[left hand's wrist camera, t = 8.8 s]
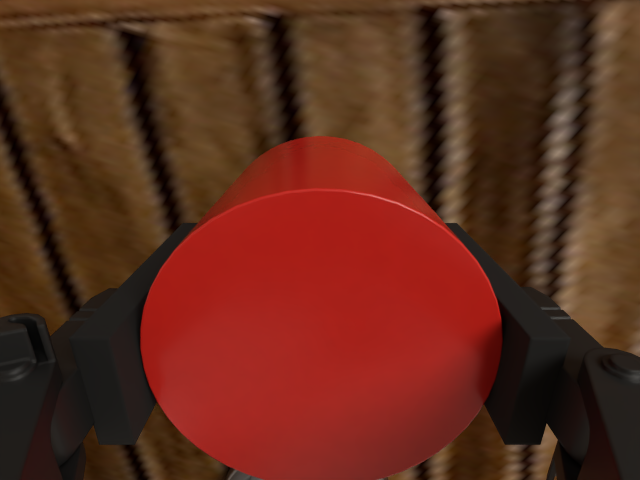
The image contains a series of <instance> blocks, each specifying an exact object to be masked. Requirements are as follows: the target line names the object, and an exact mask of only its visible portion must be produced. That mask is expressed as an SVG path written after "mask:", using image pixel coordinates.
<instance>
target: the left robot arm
mask: <svg viewBox="0 0 640 480" xmlns="http://www.w3.org/2000/svg"><path fill="white" fill-rule="evenodd" d="M197 224H198V223H183V224H182V225H181V226H180V227H179V228H178V229H177V230H176V231H175V232H174V233H173V234H172V235H171V236H170V237H169V238H168V239H167V240H166V241H165V242H164V243H163V244H162V245H161V246H160V247H159V248H158V249H157V250H156V251H155V252H154V253H153V254H152V255H151V256H150V257H149V258H148V259H147V260H146V261H145V262H144V263H143V264H142V265H141V266H140V267H139V268H138V269H137V270H136V271H135V272H134V273H133V274H132V275H131V276H130V277H129V278H128V279H127V280H126V281H125V282H124V283H123V284H122V285H121V286H120V287H119V288H109V289H107V290H105V291H104V292H102V293H100V294H98V295H96V296H94V297H92V298H91V299H90V300H89V301H88V302H87V303H86V304H85V305H83V306H82V307H81V308H80V311H77V312H76V313H75V314H74V315H73V316H72V317H71V318H70V320H69V321H66V322H65V323H64V324H63V325H62V326H61V327H60V328H59V329H58V330H57V331H56V332H54V333H53V334H52V335H51V336H50V335H49V332H48V328H47V325H46V322H45V319H44V318H43V317H41V316H40V315H38V314H29V313H24V314H14V315H9V316H5V317H1V318H0V480H83V477H84V470H85V463H86V453H85V448H84V445H83V439H84V438H85V436H86V435H87V433H88V432H89V430H90V429H91V427H92V426H93V425H94V428H95V431H96V435H97V438H98V442H99V445H135V443H136V441H137V439H138V437H139V435H140V433H141V431H142V429H143V427H144V425H145V423H146V422H147V420H148V418H149V416H150V414H151V412H152V410H153V408H154V406H155V404H156V402H157V400H156V398H155V396H154V394H153V392H152V390H151V388H150V386H149V383H148V380H147V377H146V374H145V371H144V368H143V362H142V356H141V349H140V326H141V320H142V314H143V308H144V305H145V302H146V299H147V296H148V293H149V290H150V287H151V285H152V283H153V281H154V280H155V278H156V276H157V274H158V272H159V270H160V268H161V267H162V265H163V264H164V263H165V261H166V260H167V259H168V257H169V256H170V255H171V254H172V252H173V251H174V250H175V248H176V247H177V246H178V245H179V244H180V243H181V242H182V240H183V239H184V238H185V237H186V236H187V235H188V234H189V233H190V231H191V230H192V229H193V228H194V227H195V226H196V225H197ZM445 224H446V225H447V226H448V228H449V229H450V230H451V231H452V232H453V233H454V234H455V235H456V236H457V238H458V239H459V240H460V241H461V242H462V243H463V244H464V245H465V247H466V248H467V249H468V250H469V251H470V252H471V254H472V255H473V256H474V257H475V258H476V260H477V261H478V262H479V264H480V266H481V267H482V269H483V271H484V272H485V274H486V276H487V277H488V279H489V281H490V283H491V286H492V288H493V291H494V293H495V296H496V298H497V302H498V306H499V310H500V315H501V319H502V335H503V343H502V352H501V357H500V362H499V367H498V371H497V376H496V380H495V382H494V384H493V387H492V389H491V391H490V394H489V396H488V398H487V399H486V401H485V403H484V405H485V407H486V408H487V410H488V412H489V414H490V416H491V418H492V420H493V422H494V424H495V426H496V428H497V430H498V432H499V434H500V436H501V438H502V440H503V442H504V443H505V445H540V444H541V441H542V437H543V434H544V430H545V427H546V423H547V424H548V426H549V427H550V429H551V430H552V432H553V433H554V435H555V436H556V438H557V439H558V441H557V445H556V448H555V451H554V454H553V458H552V461H551V464H550V467H549V470H548V474H547V479H546V480H554V477H555V476H557V480H640V357H638V356H636V355H634V354H631V353H628V352H624V351H621V350H618V349H611V348H604V347H602V346H601V345H600V344H599V343H598V342H597V341H596V340H595V339H594V338H593V337H592V336H591V335H589V334H588V333H587V332H586V331H585V330H584V329H583V328H582V327H581V326H580V325H579V324H578V323H577V322H575V321H574V320H573V319H571V317H570V316H569V315H568V314H567V313H566V312H565V311H564V310H561V309H560V307H559V306H558V305H557V304H556V303H555V302H554V301H553V300H552V299H551V298H549V297H548V296H546V295H545V294H543V293H541V292H539V291H537V290H535V289H533V288H531V287H520V286H519V285H518V284H517V283H516V282H515V281H514V280H513V279H512V278H511V277H510V276H509V275H508V274H507V273H506V272H505V271H504V270H503V269H502V268H501V267H500V266H499V265H498V264H497V263H496V262H495V261H494V260H493V259H492V258H491V257H490V256H489V255H488V254H487V253H486V252H485V251H484V250H483V249H482V248H481V247H480V246H479V245H478V244H477V243H476V242H475V241H474V240H473V239H472V238H471V237H470V236H469V235H468V234H467V233H466V232H465V231H464V230H463V229H462V228H461V227H460V226H459V225H458V224H457V223H445ZM225 480H263V479H260V478H257V477H254V476H250V475H247V474H245V473H242V472H240V471H238V470H235V469H233V468H230V469H229V471H228V474H227V476H226V479H225ZM379 480H388V478H387V477H386V478H383V479H379Z"/></svg>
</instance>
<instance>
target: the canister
mask: <svg viewBox="0 0 640 480" xmlns="http://www.w3.org/2000/svg"><path fill="white" fill-rule="evenodd" d="M502 343H503V335H502V319H501V315H500V310H499V306H498V302H497V298H496V296H495V293H494V291H493V288H492V286H491V283H490V281H489V279H488V277H487V276H486V274H485V272H484V271H483V269H482V267H481V266H480V264H479V262H478V261H477V260H476V258H475V257H474V256H473V255H472V254H471V252H470V251H469V250H468V249H467V248H466V247H465V245H464V244H463V243H462V242H461V241H460V240H459V239H458V238H457V236H456V235H455V234H454V233H453V232H452V231H451V230H450V229H449V228H448V226H447V225H446V224H445V223H444V222H443V221H442V220H441V219H440V218H439V217H438V215H437V214H436V213H435V212H434V211H433V210H432V209H431V208H430V207H429V205H428V204H427V203H426V202H425V201H424V200H423V199H422V198H421V197H420V196H419V194H418V193H417V192H416V191H415V190H414V189H413V188H412V187H411V186H410V184H409V183H408V182H407V181H406V180H405V179H404V178H403V177H402V176H401V175H400V173H399V172H398V171H397V170H396V169H395V168H394V167H393V166H392V165H391V164H390V163H389V162H388V161H387V160H386V159H384V158H383V157H382V156H380V155H379V154H377V153H376V152H374V151H373V150H371V149H369V148H367V147H365V146H363V145H361V144H359V143H356V142H353V141H350V140H347V139H342V138H336V137H325V136H315V137H304V138H300V139H296V140H291V141H288V142H286V143H283V144H280V145H278V146H276V147H274V148H272V149H270V150H269V151H267V152H265V153H264V154H262V155H261V156H260V157H258V158H257V159H256V160H255V161H254V162H253V163H251V164H250V165H249V166H248V167H247V168H246V169H245V171H244V172H243V173H242V174H241V175H240V176H239V177H238V178H237V180H236V181H235V182H234V183H233V184H232V185H231V186H230V187H229V189H228V190H227V191H226V192H225V193H224V194H223V195H222V196H221V198H220V199H219V200H218V201H217V202H216V203H215V204H214V206H213V207H212V208H211V209H210V210H209V211H208V212H207V213H206V215H205V216H204V217H203V218H202V219H201V220H200V221H199V222H198V224H197V225H196V226H195V227H194V228H193V229H192V230H191V231H190V233H189V234H188V235H187V236H186V237H185V238H184V239H183V240H182V242H181V243H180V244H179V245H178V246H177V247H176V248H175V250H174V251H173V252H172V254H171V255H170V256H169V257H168V259H167V260H166V261H165V263H164V264H163V265H162V267H161V268H160V270H159V272H158V274H157V276H156V278H155V280H154V281H153V283H152V285H151V287H150V290H149V293H148V296H147V299H146V302H145V305H144V308H143V314H142V320H141V326H140V349H141V356H142V362H143V368H144V371H145V374H146V377H147V380H148V383H149V386H150V388H151V390H152V392H153V394H154V396H155V398H156V400H157V402H158V404H159V406H160V407H161V408H162V410H163V411H164V413H165V414H166V416H167V417H168V419H169V420H170V421H171V422H172V423H173V424H174V426H175V427H176V428H177V429H178V430H179V431H180V432H181V433H182V434H183V435H184V436H185V437H186V438H187V439H188V440H189V441H191V442H192V443H193V444H194V445H195V446H196V447H198V448H199V449H201V450H202V451H204V452H205V453H206V454H208V455H209V456H211V457H212V458H214V459H216V460H218V461H219V462H221V463H223V464H225V465H227V466H228V467H231V468H233V469H235V470H238V471H240V472H242V473H245V474H247V475H250V476H254V477H257V478H260V479H263V480H379V479H383V478H386V477H389V476H392V475H394V474H397V473H400V472H403V471H405V470H407V469H409V468H411V467H413V466H415V465H418V464H420V463H421V462H423V461H425V460H426V459H428V458H430V457H431V456H433V455H435V454H436V453H438V452H439V451H440V450H442V449H443V448H444V447H446V446H447V445H448V444H450V443H451V442H452V441H453V440H454V439H455V438H456V437H457V436H458V435H459V434H460V433H461V432H463V431H464V430H465V429H466V428H467V426H468V425H469V424H470V423H471V421H472V420H473V419H474V418H475V416H476V415H477V414H478V413H479V411H480V409H481V408H482V406H483V404H484V403H485V401H486V399H487V398H488V396H489V394H490V391H491V389H492V387H493V384H494V382H495V380H496V376H497V371H498V367H499V362H500V357H501V352H502Z"/></svg>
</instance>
